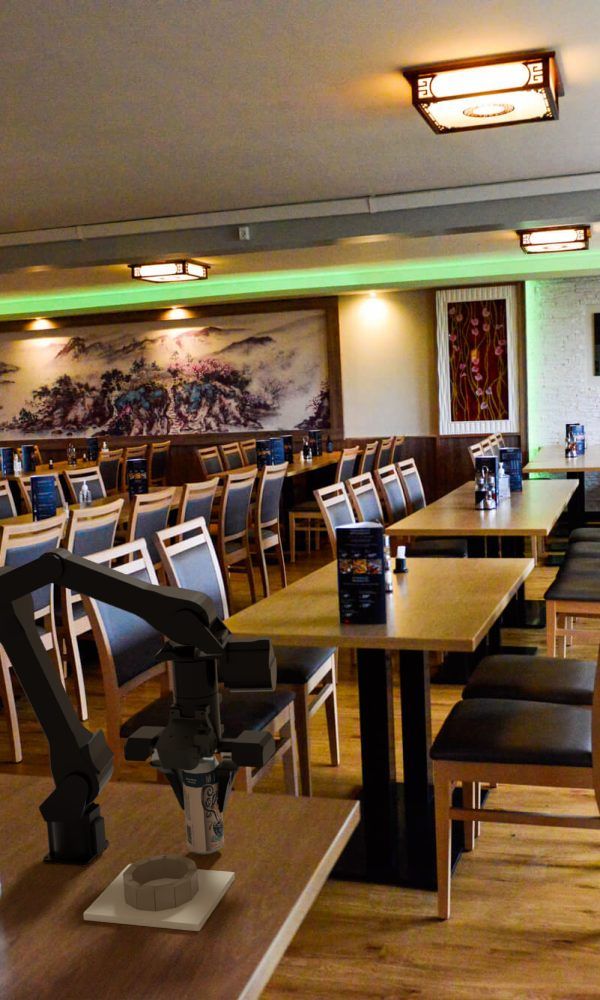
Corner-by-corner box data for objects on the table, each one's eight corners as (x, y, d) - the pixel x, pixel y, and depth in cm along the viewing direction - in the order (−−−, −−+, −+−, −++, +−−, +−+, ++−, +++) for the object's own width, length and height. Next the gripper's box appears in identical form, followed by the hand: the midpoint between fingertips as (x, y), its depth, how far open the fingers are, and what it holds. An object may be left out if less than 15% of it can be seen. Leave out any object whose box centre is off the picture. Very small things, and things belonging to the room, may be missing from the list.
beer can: (218, 857, 123) (212, 765, 122) (182, 855, 124) (176, 764, 123) (228, 840, 128) (223, 751, 126) (194, 839, 129) (188, 751, 127)
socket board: (84, 919, 111) (81, 892, 110) (129, 869, 122) (127, 844, 122) (198, 931, 107) (197, 902, 107) (234, 878, 118) (233, 852, 118)
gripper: (99, 709, 118) (109, 832, 120) (245, 715, 113) (252, 843, 115) (138, 683, 129) (146, 796, 131) (272, 687, 124) (279, 804, 126)
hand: (203, 810), depth 125 cm, fingers closed on beer can, 5 cm apart
